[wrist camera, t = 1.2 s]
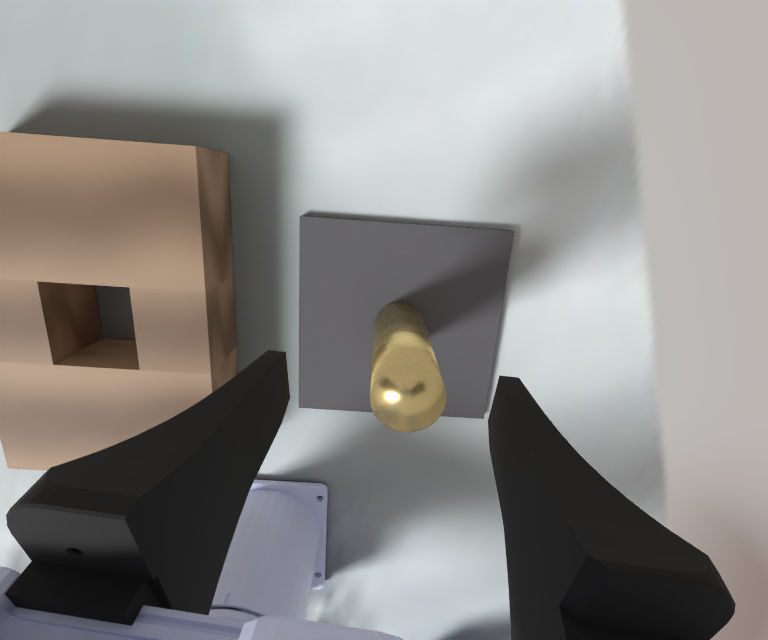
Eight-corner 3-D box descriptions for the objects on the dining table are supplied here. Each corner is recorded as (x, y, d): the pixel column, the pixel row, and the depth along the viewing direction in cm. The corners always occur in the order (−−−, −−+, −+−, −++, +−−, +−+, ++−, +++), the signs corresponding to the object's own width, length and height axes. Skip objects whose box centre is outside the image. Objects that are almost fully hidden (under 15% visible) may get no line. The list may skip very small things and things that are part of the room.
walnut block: (240, 439, 28) (218, 479, 24) (60, 429, 27) (7, 468, 23) (227, 153, 22) (195, 146, 18) (1, 137, 22) (-79, 125, 18)
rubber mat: (481, 414, 27) (483, 418, 26) (300, 403, 27) (298, 407, 26) (511, 230, 23) (514, 231, 23) (301, 215, 23) (299, 216, 23)
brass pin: (421, 350, 25) (441, 434, 16) (372, 347, 25) (368, 430, 16) (426, 303, 24) (450, 366, 16) (375, 299, 24) (372, 361, 15)
